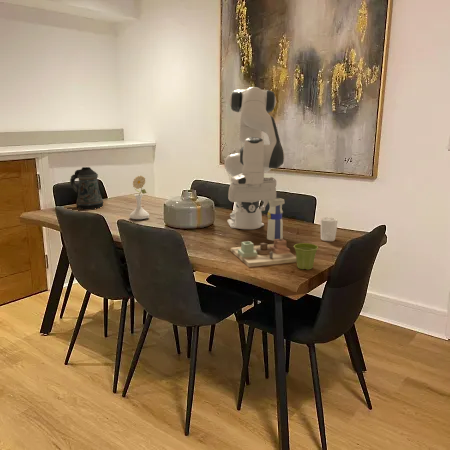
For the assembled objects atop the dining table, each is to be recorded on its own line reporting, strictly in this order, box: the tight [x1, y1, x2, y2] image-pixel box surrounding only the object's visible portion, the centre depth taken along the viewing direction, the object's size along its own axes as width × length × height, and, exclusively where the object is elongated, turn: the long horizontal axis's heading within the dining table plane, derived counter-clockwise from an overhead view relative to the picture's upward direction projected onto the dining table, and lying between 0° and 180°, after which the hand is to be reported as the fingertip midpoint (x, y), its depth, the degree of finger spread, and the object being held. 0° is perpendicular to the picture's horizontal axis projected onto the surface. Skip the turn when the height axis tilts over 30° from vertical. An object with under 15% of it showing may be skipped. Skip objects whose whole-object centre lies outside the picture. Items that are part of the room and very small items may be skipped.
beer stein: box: [69, 166, 104, 210], centre depth 287 cm, size 16×19×25 cm
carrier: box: [230, 238, 297, 268], centre depth 194 cm, size 22×22×7 cm
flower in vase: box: [129, 175, 151, 220], centre depth 256 cm, size 13×11×25 cm
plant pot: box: [293, 242, 319, 270], centre depth 180 cm, size 9×9×9 cm
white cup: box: [320, 217, 338, 242], centre depth 219 cm, size 8×8×10 cm
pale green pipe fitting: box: [238, 240, 257, 257], centre depth 191 cm, size 6×6×5 cm
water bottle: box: [266, 197, 285, 242], centre depth 218 cm, size 8×9×25 cm
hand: (252, 211), depth 190 cm, fingers open, 8 cm apart
